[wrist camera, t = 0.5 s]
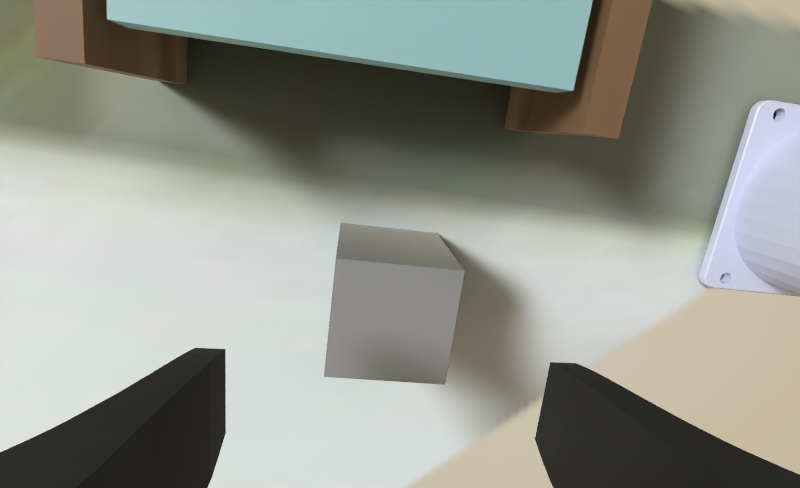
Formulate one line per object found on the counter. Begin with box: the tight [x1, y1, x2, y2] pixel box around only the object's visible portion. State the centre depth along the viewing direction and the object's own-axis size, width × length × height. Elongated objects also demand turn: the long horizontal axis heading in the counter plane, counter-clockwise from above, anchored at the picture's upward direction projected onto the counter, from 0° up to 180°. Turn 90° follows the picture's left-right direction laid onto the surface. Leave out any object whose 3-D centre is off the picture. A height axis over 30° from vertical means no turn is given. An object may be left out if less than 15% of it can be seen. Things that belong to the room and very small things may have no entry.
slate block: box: [324, 223, 465, 384], centre depth 17 cm, size 4×4×5 cm
